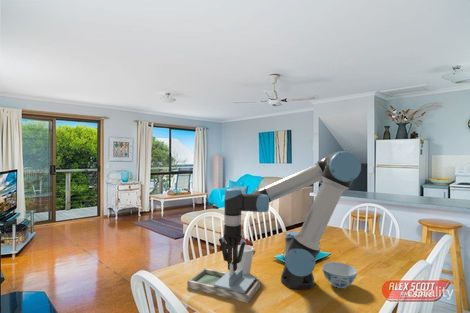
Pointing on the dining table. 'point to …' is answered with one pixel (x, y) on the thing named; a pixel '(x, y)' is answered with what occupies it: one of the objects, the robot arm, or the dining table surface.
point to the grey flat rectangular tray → (206, 284)
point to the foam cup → (245, 259)
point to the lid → (236, 281)
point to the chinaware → (339, 274)
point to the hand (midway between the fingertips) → (232, 277)
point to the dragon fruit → (247, 242)
